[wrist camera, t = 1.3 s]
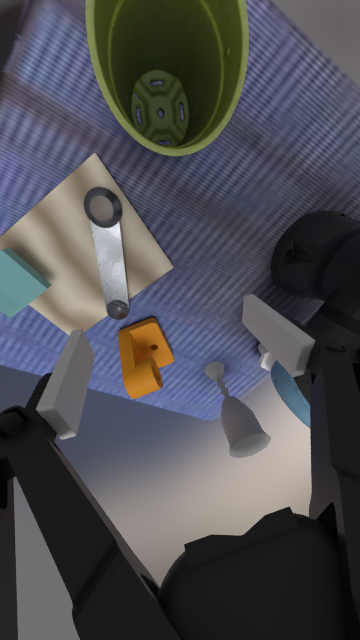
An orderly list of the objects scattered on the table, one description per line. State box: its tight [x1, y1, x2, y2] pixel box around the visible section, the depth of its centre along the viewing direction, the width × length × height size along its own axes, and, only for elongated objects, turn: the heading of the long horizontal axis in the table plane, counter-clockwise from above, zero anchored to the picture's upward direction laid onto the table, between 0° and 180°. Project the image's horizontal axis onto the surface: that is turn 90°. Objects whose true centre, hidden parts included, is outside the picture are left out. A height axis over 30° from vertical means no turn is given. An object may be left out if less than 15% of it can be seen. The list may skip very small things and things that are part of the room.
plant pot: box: [85, 0, 249, 156], centre depth 19 cm, size 12×12×11 cm
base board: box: [0, 153, 174, 336], centre depth 28 cm, size 22×17×5 cm
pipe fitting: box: [258, 343, 276, 372], centre depth 43 cm, size 6×7×8 cm
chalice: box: [204, 361, 271, 458], centre depth 40 cm, size 7×7×18 cm
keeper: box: [0, 248, 51, 318], centre depth 26 cm, size 7×6×5 cm
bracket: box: [118, 318, 174, 399], centre depth 35 cm, size 11×7×12 cm
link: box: [84, 187, 130, 320], centre depth 28 cm, size 18×4×2 cm, turn 178°
